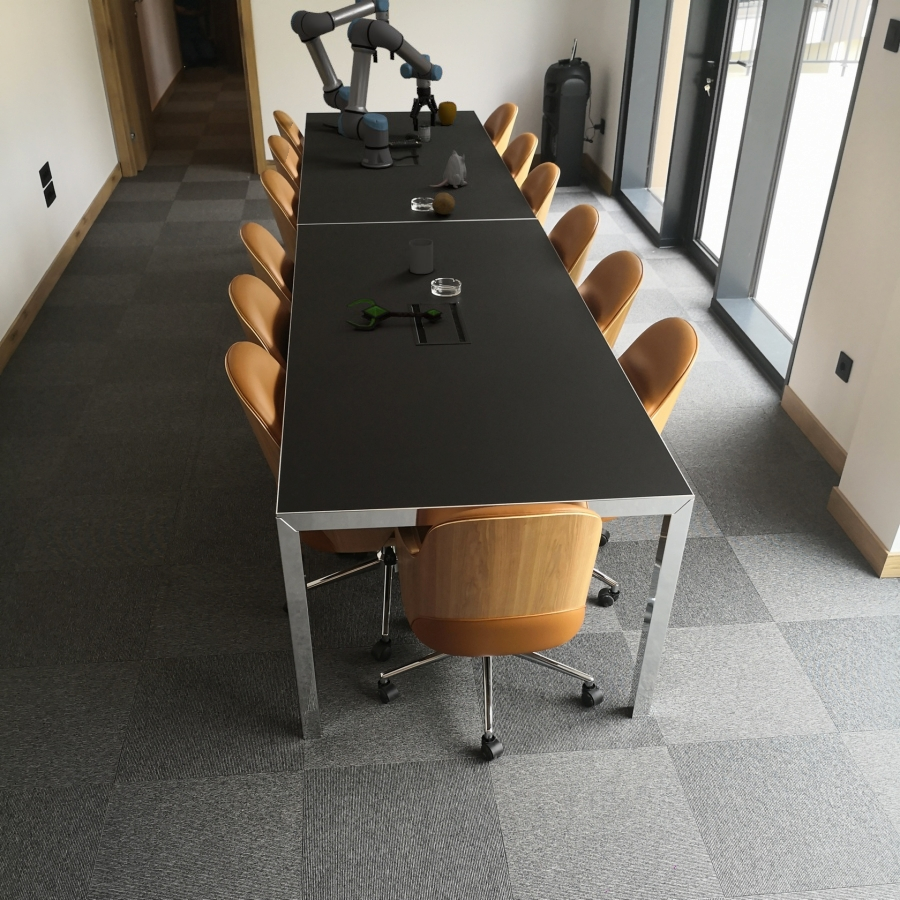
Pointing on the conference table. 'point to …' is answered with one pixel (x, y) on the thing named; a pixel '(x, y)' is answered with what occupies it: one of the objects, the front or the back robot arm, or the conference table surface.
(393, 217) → the conference table surface
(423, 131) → the camera lens
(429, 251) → the cup
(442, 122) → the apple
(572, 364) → the conference table surface
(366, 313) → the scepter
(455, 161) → the toy
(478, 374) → the conference table surface
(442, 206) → the potato
